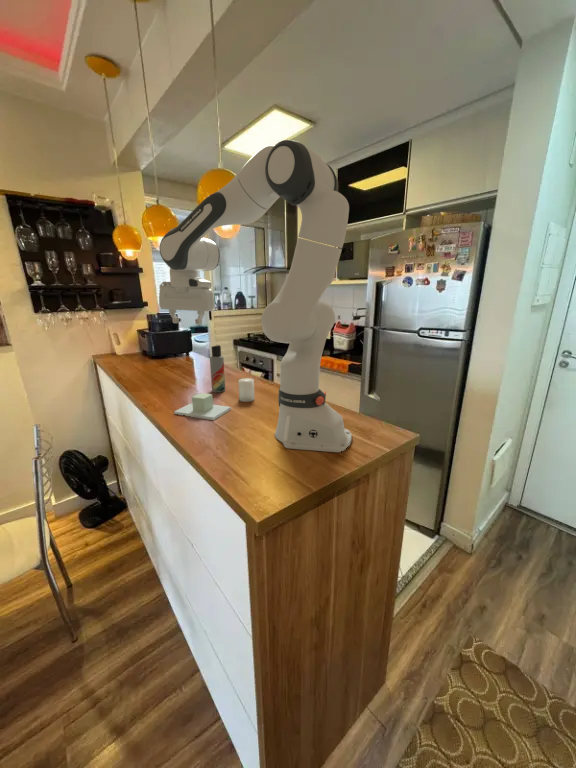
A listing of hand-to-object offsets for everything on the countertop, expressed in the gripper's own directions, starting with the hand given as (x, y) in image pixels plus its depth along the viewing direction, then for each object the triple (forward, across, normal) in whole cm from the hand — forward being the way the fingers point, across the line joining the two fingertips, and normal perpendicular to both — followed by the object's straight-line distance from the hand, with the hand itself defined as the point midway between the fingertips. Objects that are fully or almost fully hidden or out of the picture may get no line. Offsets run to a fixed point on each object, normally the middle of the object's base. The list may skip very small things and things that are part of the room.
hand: (187, 323), depth 107 cm
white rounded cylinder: (+30, +15, +14) cm, 37 cm away
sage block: (+29, +7, -3) cm, 30 cm away
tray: (+30, +7, -3) cm, 31 cm away
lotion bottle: (+31, -2, +21) cm, 37 cm away
